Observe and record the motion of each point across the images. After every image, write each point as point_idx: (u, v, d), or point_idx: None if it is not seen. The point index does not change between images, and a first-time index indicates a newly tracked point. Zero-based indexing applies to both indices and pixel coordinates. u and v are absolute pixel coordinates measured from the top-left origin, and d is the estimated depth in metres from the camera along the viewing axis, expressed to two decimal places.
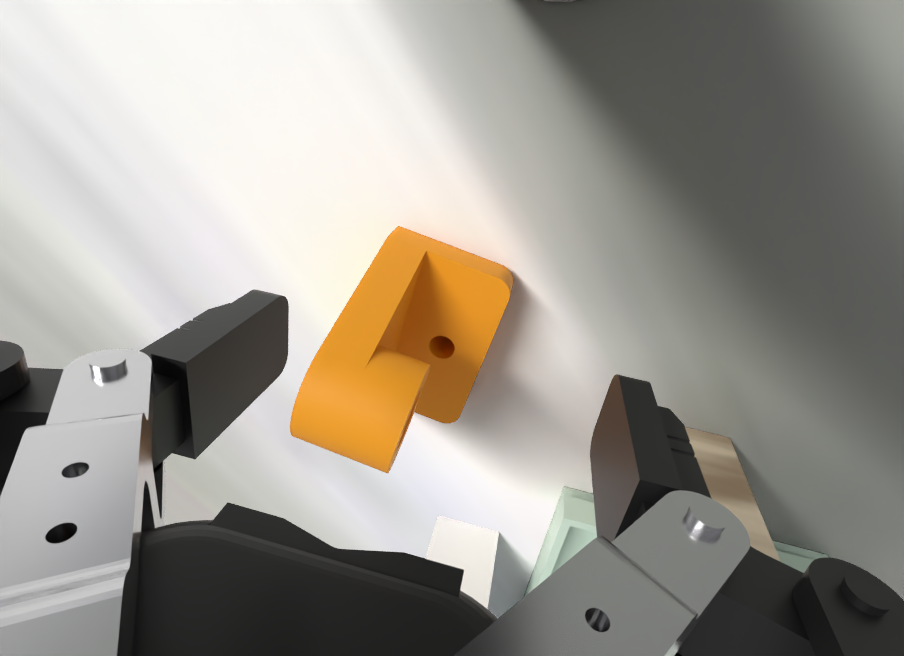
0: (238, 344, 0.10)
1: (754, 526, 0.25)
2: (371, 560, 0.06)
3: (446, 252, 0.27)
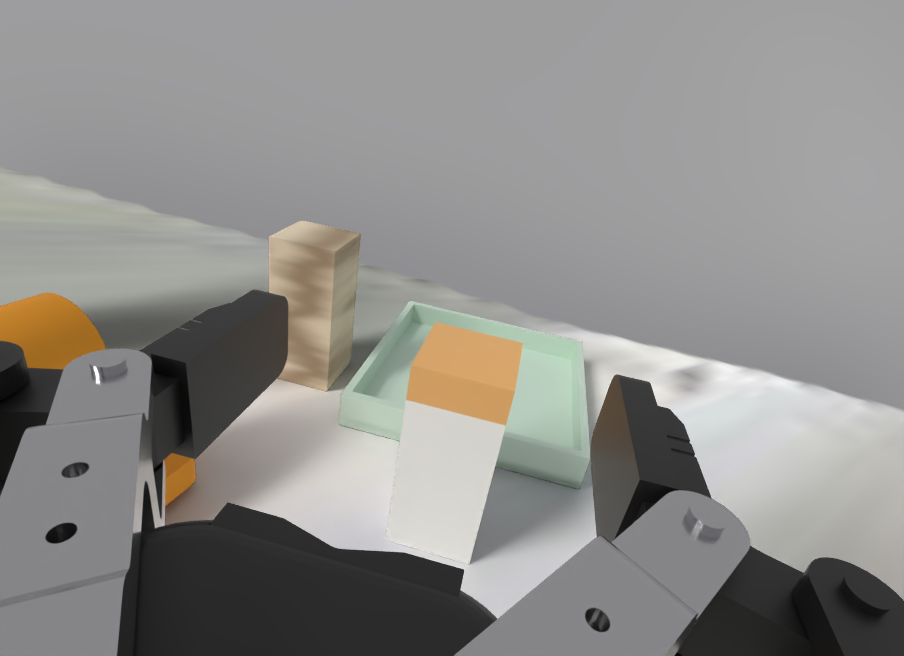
0: (238, 344, 0.10)
1: None
2: (370, 560, 0.06)
3: None
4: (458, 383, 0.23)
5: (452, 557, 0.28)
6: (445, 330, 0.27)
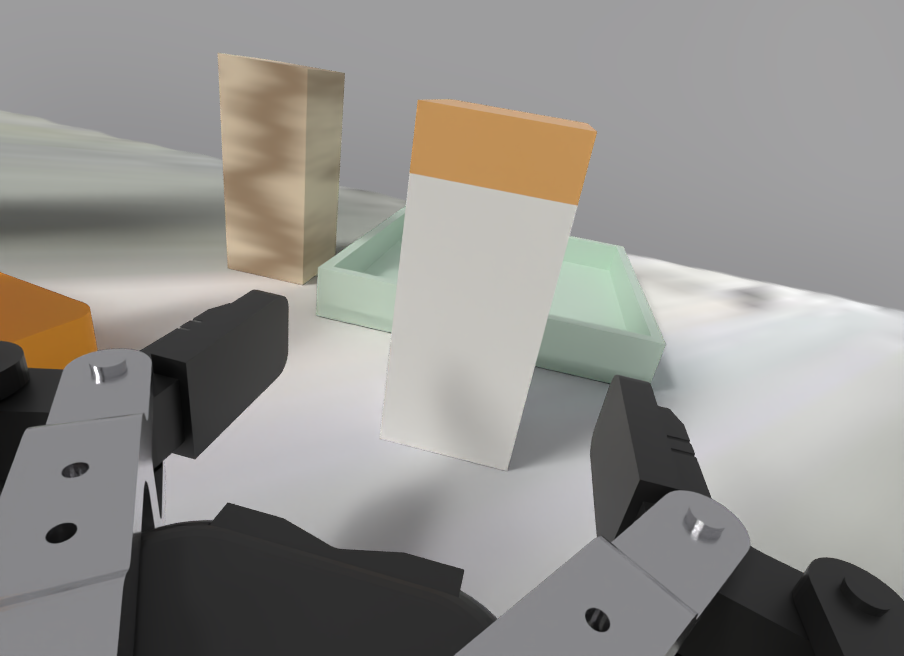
0: (238, 344, 0.10)
1: None
2: (370, 559, 0.06)
3: None
4: (497, 127, 0.14)
5: (481, 460, 0.19)
6: (468, 102, 0.18)
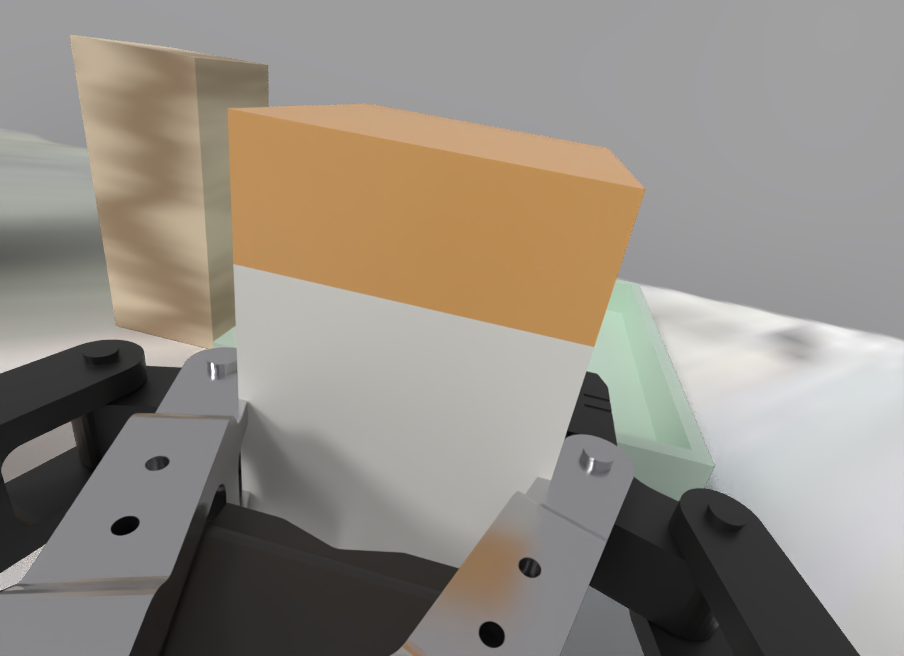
0: None
1: None
2: (370, 559, 0.06)
3: None
4: (409, 173, 0.06)
5: None
6: (392, 110, 0.10)
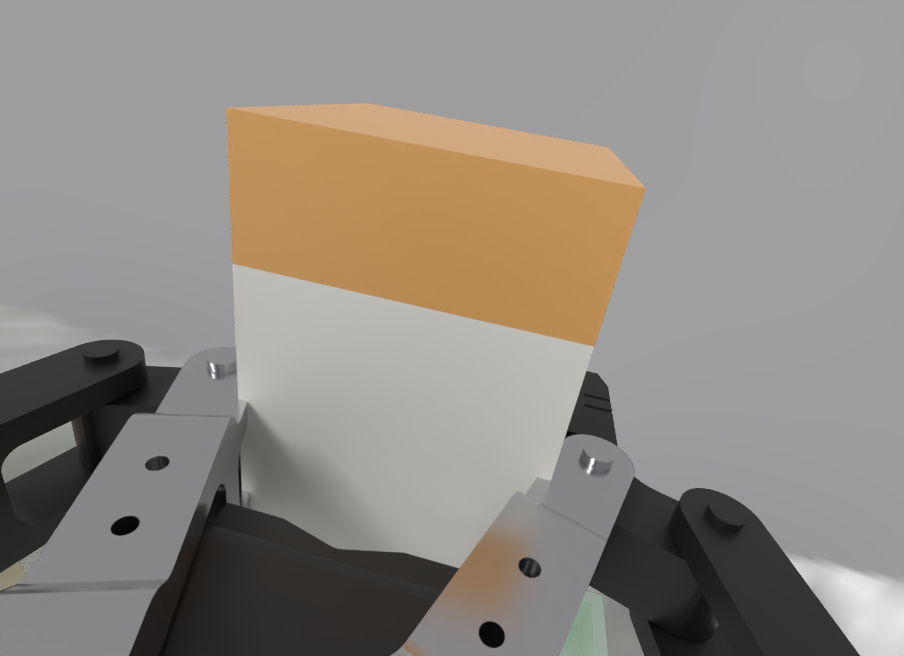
0: None
1: None
2: (370, 560, 0.06)
3: None
4: (409, 172, 0.06)
5: None
6: (391, 110, 0.10)
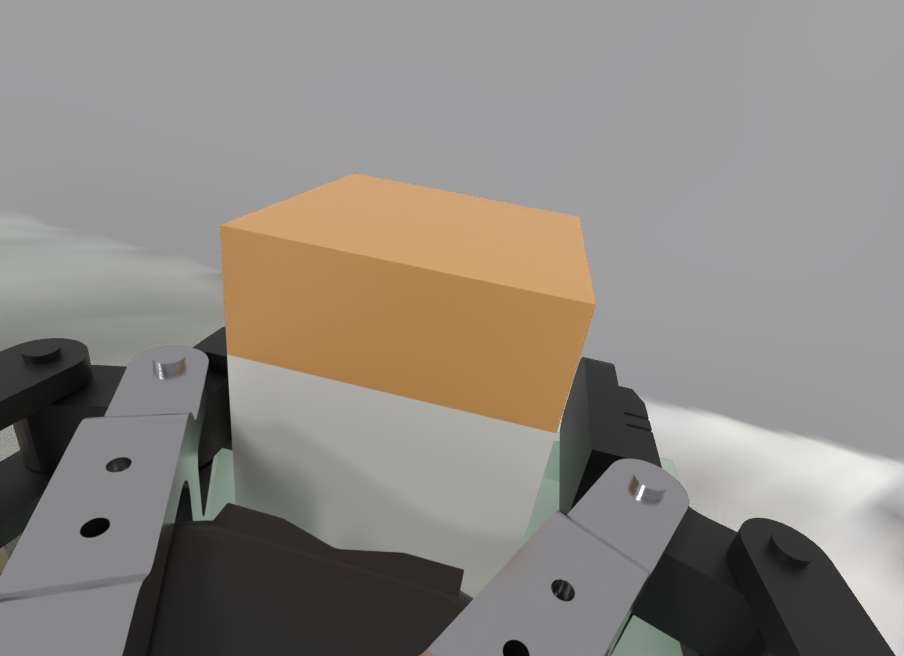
0: None
1: None
2: (370, 559, 0.06)
3: None
4: (386, 284, 0.07)
5: None
6: (375, 184, 0.10)
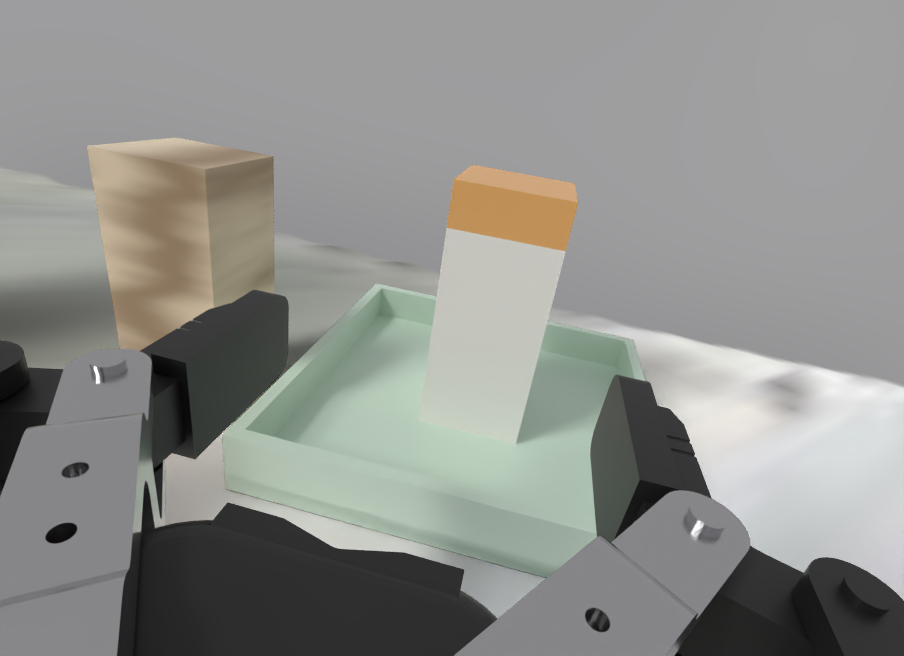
0: (238, 344, 0.10)
1: None
2: (370, 560, 0.06)
3: None
4: (509, 198, 0.20)
5: (496, 436, 0.25)
6: (485, 169, 0.24)
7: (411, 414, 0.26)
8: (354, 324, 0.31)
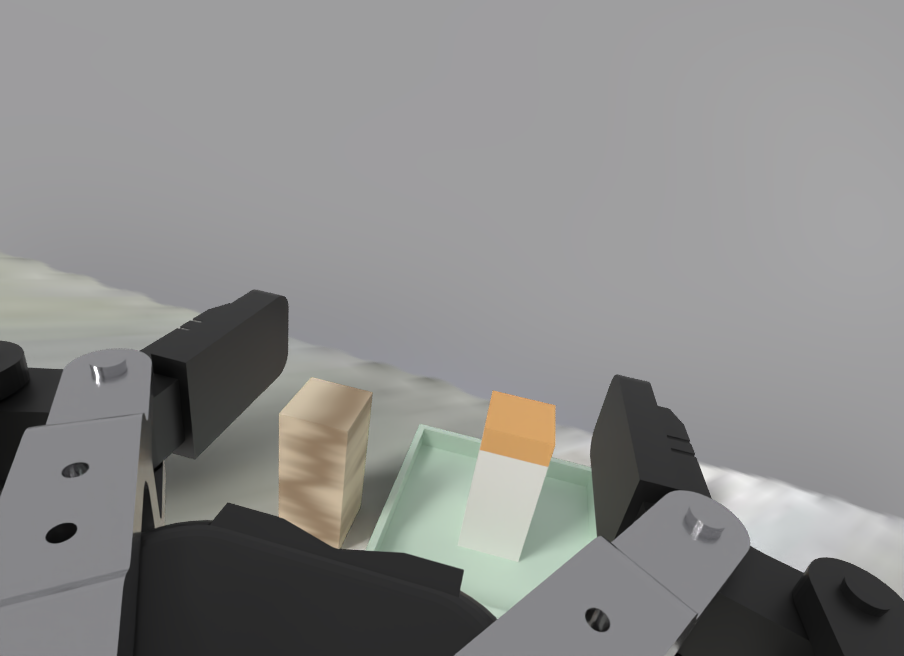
0: (238, 344, 0.10)
1: None
2: (370, 560, 0.06)
3: None
4: (516, 439, 0.35)
5: (506, 557, 0.40)
6: (500, 397, 0.39)
7: (452, 540, 0.41)
8: (410, 466, 0.46)
